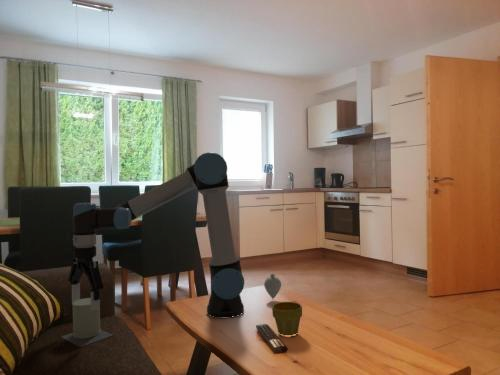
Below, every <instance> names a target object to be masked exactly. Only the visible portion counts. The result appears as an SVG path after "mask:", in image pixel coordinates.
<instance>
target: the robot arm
mask: <svg viewBox="0 0 500 375" xmlns="http://www.w3.org/2000/svg"><path fill="white" fill-rule="evenodd" d="M194 161H195V162H194V163H193V164H192V165H191V166H188V167H186V168H185V170H184V172H182V173H180V174H179V175H177V176H175V177H173V178H170V179H169V180H167V181H165V182H163V183H161V184H159V185H158V186H157V185H156V186H155V187H154V188H151V189H149V190H148V191H145V192H143V193H141V194H139V195H138V196H136V197H133V198H132V199H130V200H128V201H126V202H124V203H123V204H120V205H118V206H115V207H108V208H107V207H105V208H100V207H97V205H96V203H95V202H77V203H75V204H73V209H72V210H73V212H72V230H73V232H72V233H73V234H72V235H73V236H72V241H73V246H74V247H73V250H72V251H73V252H72V254H73V257H72V259H71V260H72V262H71V268H70V271H69V274H68V282H69V283H70V284H71V303H73V302H74V301H76V300H79V299H81V278H82V276H83V274H84V275H85V276H86V278H87V280H88V282H89V285H90V288H91V290H90V298H91V310H96V309H99V299H100V291H101V290H103V289H104V283H103V280H102V276H101V272H100V268H99V261H97V260H96V261H95V260H93V259H94V258H95V257H96V256H97V246H96V245H97V230H123V229H129V228H130V227H131V225H132V221H134V220H136V219H138V218H140V217H141V216H144V215H145V214H147V213H149V212H151V211H153V210H155V209H158V208H160V207H161V206H163V205H165V204H167V203H169V202H171V201H173V200H174V199H176V198H178V197H181V196H183V195H184V194H186V193H189V192H190V191H191V190H197V192H198V193H200V194H201V195H202V199H203V206H204V213H205V218H206V219H205V220H206V225H207V226H206V227H207V233H208V240H209V244H210V245H209V246H210V252H211V258H210V260H209V263H208V266H209V272H210V297H209V300H208V303H207V306H206V313H208V314H209V315H211V316H214V317H213V318H215V317H231V318H233V317H232V316H236V317H238V316H237V315H239V316H241V315H242V314H241V313H243V314H244V311H245V308H244V307H245V306H244V303H243V302H242V298H241V293H242V292H243V289H244V287H245V278H244V275H243V273H242V272H243V271H242V266H241V259H240V257H239V256H238V255H236V253H235V246H234V245H235V244H234V241H233V233H232V226H231V225H232V224H231V221H230V219H231V218H230V214H229V207H228V200H227V193H226V192H227V190H228V188H229V179H228V178H229V177H228V164H227V161H226V160H225V159H224V157H223V156H222V155H220V154H219V153H216V152H211V151H210V152H209V151H208V152H204V153H202V154H201V155H199V156H198V157H197V158H196V160H194ZM208 314H207V315H208ZM240 314H241V315H240ZM209 315H208V316H209ZM211 316H210V317H211Z"/></svg>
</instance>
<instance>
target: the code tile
mask: <svg viewBox="0 0 500 375" xmlns="http://www.w3.org/2000/svg"><path fill="white" fill-rule="evenodd" d="M100 330H101V332H100V333H99V334H98V335H96V336H93V337H90V338H84V339H77V338H74V337H73V332H72V333H69V334H65V335H62V336H60V338H61V339H63V340H66V341H67V342H69V343H71V344H73V345H75V346H76V347H79V348H81V347H82V348H83V347H85V346H89V345H91V344H93V343H96V342H99V341H101V340H104V339H108V338H111V337H114V334H112V333H110V332H107V331H105V330H103V329H100Z"/></svg>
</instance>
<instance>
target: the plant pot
mask: <svg viewBox="0 0 500 375" xmlns="http://www.w3.org/2000/svg"><path fill="white" fill-rule="evenodd" d="M271 310H272V317H273V318H274V321H275V324H276V329H277V333H278V332H279V333H280V334H283V335H293V334H296V333H299V329H300V328H299V327H300V321H301V318H302V317H303V306H302V304H300V303H298V302H295V301H280V302H276V303H274V304H272V309H271ZM279 333H278V334H279Z"/></svg>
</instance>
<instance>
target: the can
mask: <svg viewBox="0 0 500 375" xmlns="http://www.w3.org/2000/svg"><path fill="white" fill-rule="evenodd" d="M100 302H101V300H100V298H99V309H96V310H91V297H86V298H80V299H79V300H76V301H74V302H73V303H72V302H71V303H72V304H71V305H72V333H73V337H74V338H77V339H84V338H90V337H93V336H96V335H98V334H99V333H100V332H101V330H102V329H101V308H100V306H101V303H100Z"/></svg>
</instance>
